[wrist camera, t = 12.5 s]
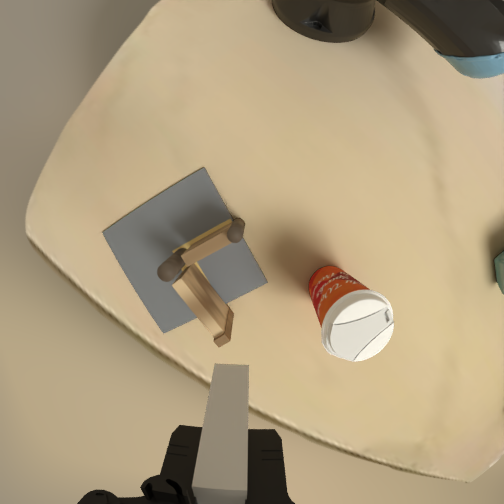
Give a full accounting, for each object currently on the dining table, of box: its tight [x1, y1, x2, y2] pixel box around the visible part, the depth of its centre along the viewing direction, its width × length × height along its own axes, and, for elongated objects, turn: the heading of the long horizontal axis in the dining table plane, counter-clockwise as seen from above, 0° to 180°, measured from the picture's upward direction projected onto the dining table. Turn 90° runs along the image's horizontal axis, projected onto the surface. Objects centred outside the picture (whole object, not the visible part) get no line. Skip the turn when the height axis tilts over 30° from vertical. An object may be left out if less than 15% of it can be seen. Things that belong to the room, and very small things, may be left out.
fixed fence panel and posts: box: [157, 218, 245, 282], centre depth 33 cm, size 2×10×8 cm, turn 118°
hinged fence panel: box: [172, 264, 234, 347], centre depth 35 cm, size 9×2×8 cm, turn 35°
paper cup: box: [309, 266, 394, 361], centre depth 32 cm, size 8×8×14 cm
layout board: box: [102, 168, 268, 333], centre depth 38 cm, size 17×17×1 cm
